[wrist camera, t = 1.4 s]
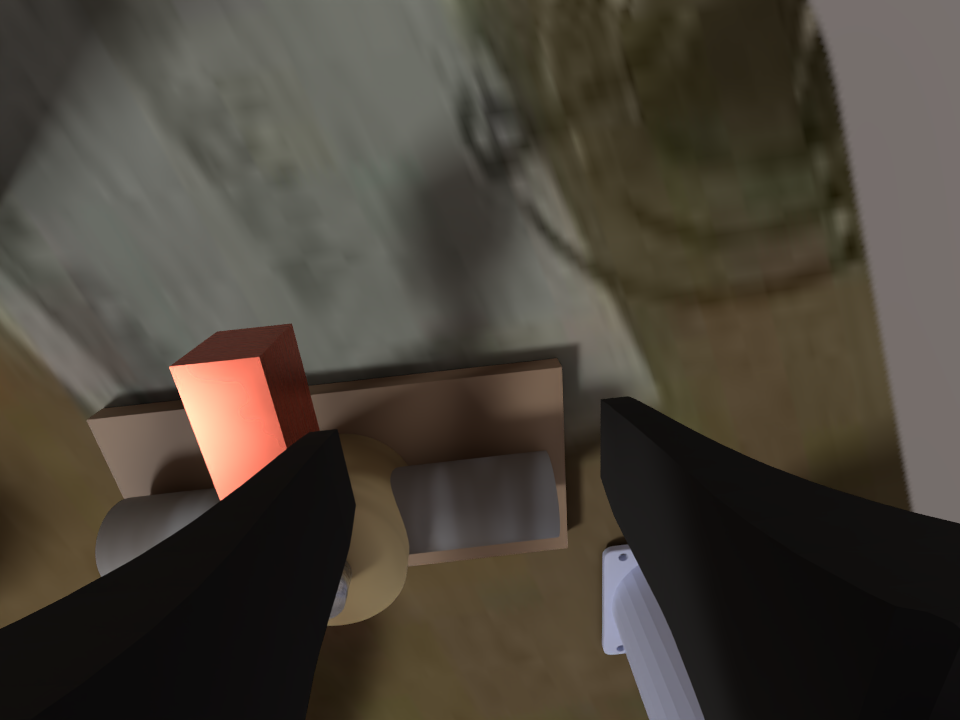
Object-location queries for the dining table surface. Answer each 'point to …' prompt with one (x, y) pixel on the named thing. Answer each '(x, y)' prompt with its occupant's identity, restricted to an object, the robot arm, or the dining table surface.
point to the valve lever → (248, 406)
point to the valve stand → (376, 472)
